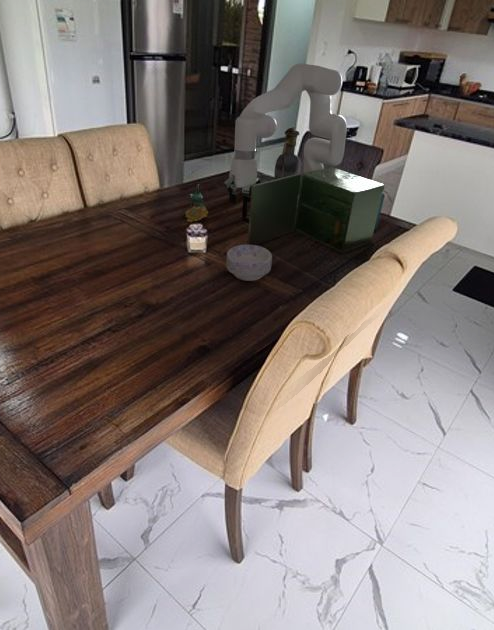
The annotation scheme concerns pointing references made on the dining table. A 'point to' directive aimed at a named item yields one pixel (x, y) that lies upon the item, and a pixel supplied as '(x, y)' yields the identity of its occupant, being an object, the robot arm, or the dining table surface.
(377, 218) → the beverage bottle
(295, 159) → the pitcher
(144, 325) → the dining table surface
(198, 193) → the frog figurine
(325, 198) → the cupboard
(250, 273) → the paper bowls
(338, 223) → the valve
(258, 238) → the door
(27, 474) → the dining table surface
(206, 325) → the dining table surface
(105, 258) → the dining table surface
